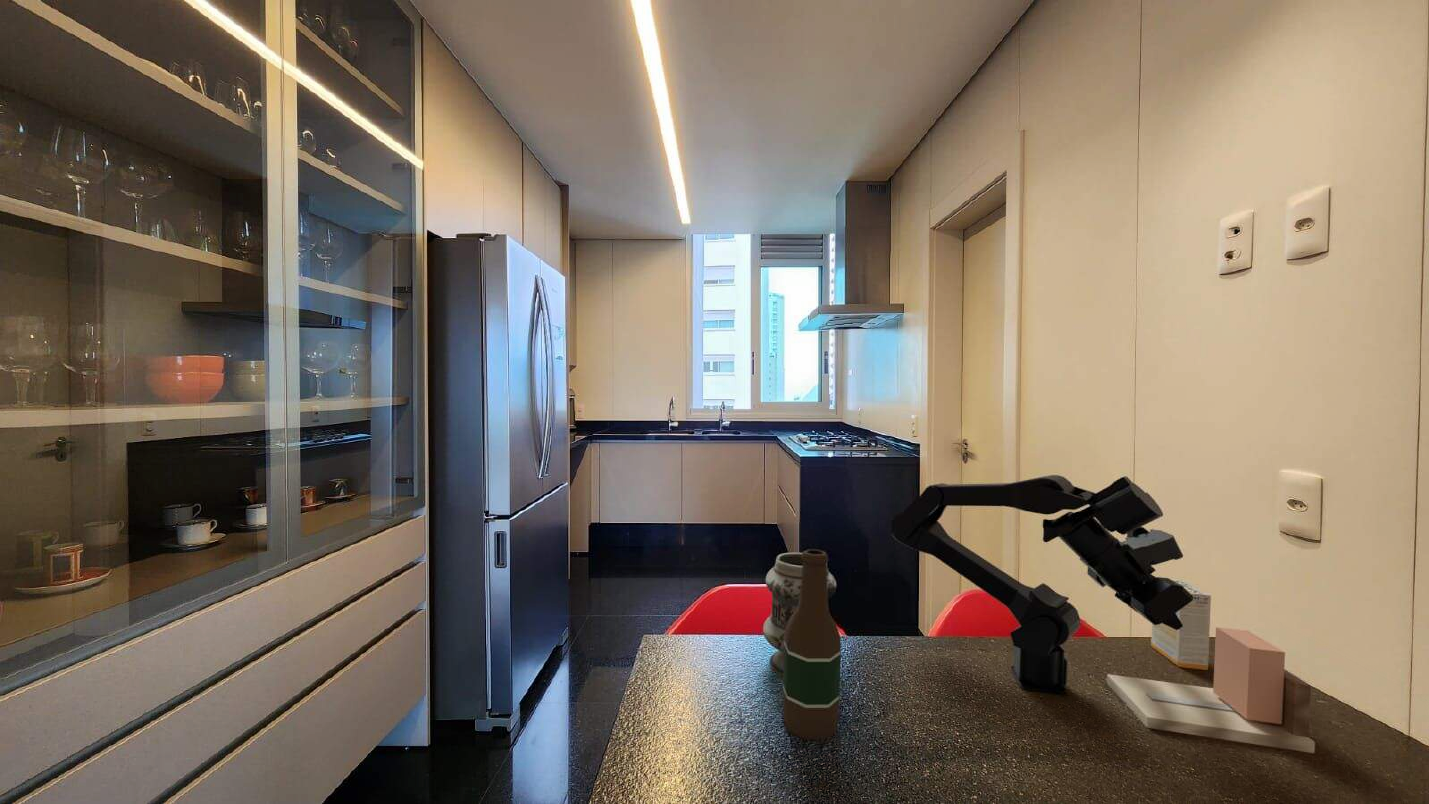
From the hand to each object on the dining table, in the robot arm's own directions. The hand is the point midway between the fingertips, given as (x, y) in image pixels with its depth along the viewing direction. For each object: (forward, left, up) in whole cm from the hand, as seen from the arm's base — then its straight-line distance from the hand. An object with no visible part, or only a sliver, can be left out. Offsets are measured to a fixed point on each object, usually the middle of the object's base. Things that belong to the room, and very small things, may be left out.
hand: (1178, 627), depth 79 cm
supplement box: (+11, +20, -13) cm, 26 cm away
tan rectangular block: (+9, 0, -11) cm, 14 cm away
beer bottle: (-52, -19, -13) cm, 57 cm away
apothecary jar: (-55, -3, -13) cm, 57 cm away
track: (+3, 0, -13) cm, 13 cm away
